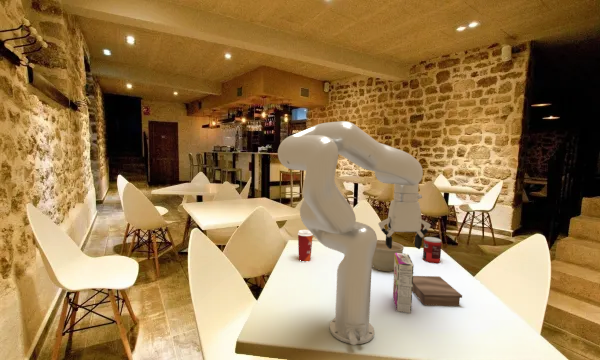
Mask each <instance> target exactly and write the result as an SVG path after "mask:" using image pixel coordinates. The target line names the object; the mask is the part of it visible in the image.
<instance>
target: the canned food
mask: <svg viewBox="0 0 600 360" xmlns="http://www.w3.org/2000/svg"><path fill="white" fill-rule="evenodd" d="M422 250H423V251H422V260H423V261H424V262H426V263H429V264H439V263H440V262H441V258H442V257H441V256H442V255H441V254H442V239H440V238H439V237H434V236H433V237H432V236H426V237H425V236H424V237H423V249H422Z"/></svg>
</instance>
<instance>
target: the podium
mask: <svg viewBox="0 0 600 360" xmlns="http://www.w3.org/2000/svg"><path fill="white" fill-rule="evenodd" d="M412 294H414V296H416V298H418V299H419V301H420V302H421V303H422V304H423V306H434V307H435V306H439V307H441V306H443V307H447V306H448V307H460V301H461V299H462V298H463V294H461V293H460V292H459V291H458V290H456V289H455V288H454V287H453V286H452V285H450V284H449V283H448V282H447V281H445V279H443V278H442V277H441V276H436V275H434V276H431V275H430V276H429V275H413V287H412ZM460 298H461V299H460Z"/></svg>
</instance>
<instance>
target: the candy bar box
mask: <svg viewBox="0 0 600 360" xmlns="http://www.w3.org/2000/svg"><path fill="white" fill-rule="evenodd" d="M413 276H414V263H413V261H412V259H411V257H410V254H408V253H395V258H394V270H393V283H392V285H393V286H392V299H393V302H394V307H395V311H396V312H398V313H402V314H403V313H404V314H405V313H406V314H412V307H413V306H412V303H413V291H412V287H413Z"/></svg>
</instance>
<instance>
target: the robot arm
mask: <svg viewBox="0 0 600 360" xmlns="http://www.w3.org/2000/svg"><path fill="white" fill-rule="evenodd" d="M339 155H340V156H341V157H343V158H345V159H347V160H348V161H350V162H351V163H353V164H355V165H356V166H358V167H359V168H361V169H364V170H367V171H371V172H374V176H375V178H376V179H377V181H379V182H381V183H383V184H390V185H394V191H393V200H391V201H390V205H389V208H388V214H387V215H388V216H387V218H386V219H384V220H382V221H380V222H378V227H379V229H380V231H381V232H382V233H383V234H384V235H385V240H386V245H387V247H388V248H389V249H391V248H392V242H393V237H392V235H393V234H394V233H395V232H398V233H399V232H400V233H415V236H414V247H415V248H416V249H418V250H420V249H421V246H422V244H423V238H425V235H426V234H427V233H428V231H429V230H430V228H431V227H432V225H431V224H430V223H429V222H427V221H426V220H424V219H422V209H421V205H420V201H419V200H420V199H423V195H422V194H420V193H419V183H420V182H421V181H422V179H423V175H424V172H423V171H424V170H423V167H422V165H421V162H420V161H419V160H418V159H417V158H415V157H414V156H413V155H411V154H410V153H408V152H406V151H404V150H402V149H399V148H396V147H392V146H390V145H388V144H385V143H381V142H379V141H378V140H375V138H374V137H372V136H371V135H369V134H368V133H366V132H365V131H364V130H363V129H362V128H360V127H359V126H357V125H356V124H355V123H353V122H350V121H346V120H341V121H331V122H330V121H329V122H323V123H322V122H321V123H319V124H316V125H313V126H311V127H309V128H306V129H304V130H301V131H299V132H296V133H294V134H291V135H289V136H287V137H286V138H284V139H283V140H282V141H281V142H280V144H279V146H278V149H277V157H278V160H279V162H280V163H281V165H282V166H283V167H284V168H286V169H289V170H295V171H305V174H304V180H303V185H302V192H301V193H302V197H303V200H302V202H301V204H300V207H299V208H300V209H299V215H300V219H301V222H302V224H303V225H304V226H305V227H306V230H309V231H310V232H311V233H312V234H313V237H315V239H316V240H317V241H318V242H319V243H320V244H322V245H323V246H324V247H325V248H328V249H331V250H334V251H336V252H338V253H341V254H343V255H344V256H343V259H342V260H341V261H340V262H339V264H338V266H337V270H336V271H337V272H336V294H335V295H336V296H335V318H333V319H332V320H331V321H330V323H329V331H330V333H331V335H332V336H333V337H334V338H335V339H337V340H338V341H341V342H342V343H346V344H349V345H350V344H351V345H352V346H355V345H362V344H363V345H364V344H366V343H368V342H370V341H372V340H373V338H374V336H375V328H374V326H373V325H372V324H371V322H370V312H371V311H370V308H371V293H372V292H371V287H372V270H373V264H372V262H373V257H374V252H375V249H376V244H377V240H378V236H377V233H376V231H375V230H374V229H373V228H372V227H371V226H370V225H368V224H366V223H364V222H359V221H356V219H357V218H356V217H357V216H356V213H355V211H354V209H353V208H352V206H351V205H350V203H349V202H348V200H347V199H346V198H345V196H344V194H342V192H341V190H340V189H339V187H338V186H337V185H336V181H335V180H336V179H335V177H336V172H337V171H336V169H337V166H338V162H339ZM385 225H386V226H387V229H386V228H385ZM422 225H423V228H422Z"/></svg>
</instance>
